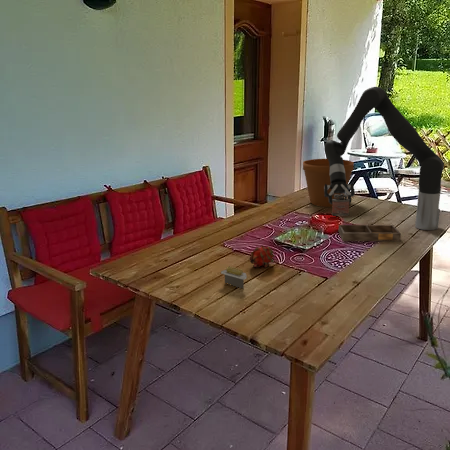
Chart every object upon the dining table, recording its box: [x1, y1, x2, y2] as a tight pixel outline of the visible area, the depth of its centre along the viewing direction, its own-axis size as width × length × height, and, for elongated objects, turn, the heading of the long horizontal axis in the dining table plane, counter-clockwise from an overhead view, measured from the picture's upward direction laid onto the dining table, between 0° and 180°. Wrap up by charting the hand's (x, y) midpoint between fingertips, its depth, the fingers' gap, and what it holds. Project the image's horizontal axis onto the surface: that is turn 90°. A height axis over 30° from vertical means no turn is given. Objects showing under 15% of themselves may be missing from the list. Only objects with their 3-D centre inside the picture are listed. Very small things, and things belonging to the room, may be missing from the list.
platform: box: [220, 266, 248, 290], centre depth 156 cm, size 12×18×7 cm, turn 53°
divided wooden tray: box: [338, 224, 401, 242], centre depth 202 cm, size 24×12×4 cm, turn 85°
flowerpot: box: [302, 158, 354, 208], centre depth 260 cm, size 28×28×24 cm
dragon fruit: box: [249, 245, 275, 269], centre depth 172 cm, size 8×8×12 cm
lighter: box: [331, 194, 350, 217], centre depth 215 cm, size 8×3×10 cm, turn 84°
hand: (340, 203), depth 216 cm, fingers closed on lighter, 8 cm apart
